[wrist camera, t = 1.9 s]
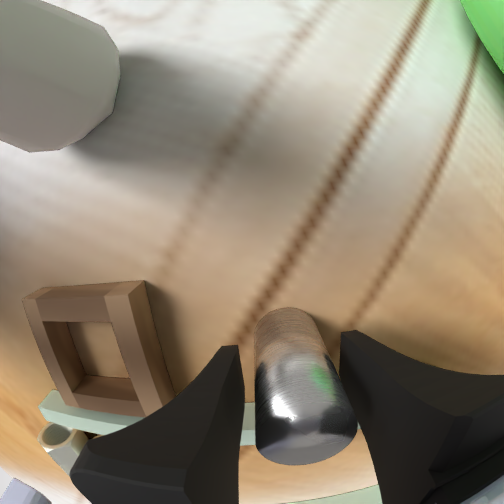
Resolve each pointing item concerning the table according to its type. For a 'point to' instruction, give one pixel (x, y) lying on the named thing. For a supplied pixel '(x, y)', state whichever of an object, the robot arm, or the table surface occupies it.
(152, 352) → the tan square frame
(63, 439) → the pipe fitting
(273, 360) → the pin
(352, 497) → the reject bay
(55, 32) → the salt shaker
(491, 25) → the toy bird
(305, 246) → the table surface
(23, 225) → the table surface
